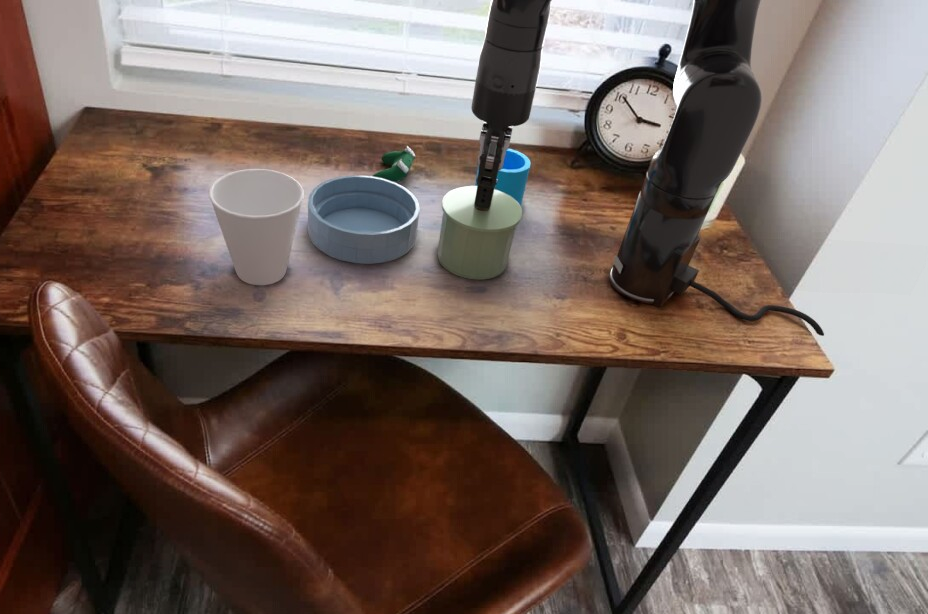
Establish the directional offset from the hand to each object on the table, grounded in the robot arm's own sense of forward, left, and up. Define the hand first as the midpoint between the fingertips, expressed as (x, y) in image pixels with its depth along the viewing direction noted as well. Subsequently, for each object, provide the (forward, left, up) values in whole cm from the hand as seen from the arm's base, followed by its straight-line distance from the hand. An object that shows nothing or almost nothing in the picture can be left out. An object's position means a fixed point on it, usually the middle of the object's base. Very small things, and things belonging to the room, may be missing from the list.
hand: (483, 200), depth 98 cm
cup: (+18, +25, -10) cm, 32 cm away
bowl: (+15, +8, -10) cm, 20 cm away
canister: (0, 0, -10) cm, 10 cm away
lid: (0, 0, -1) cm, 1 cm away
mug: (+8, -17, -10) cm, 21 cm away
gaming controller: (+24, -9, -10) cm, 28 cm away
